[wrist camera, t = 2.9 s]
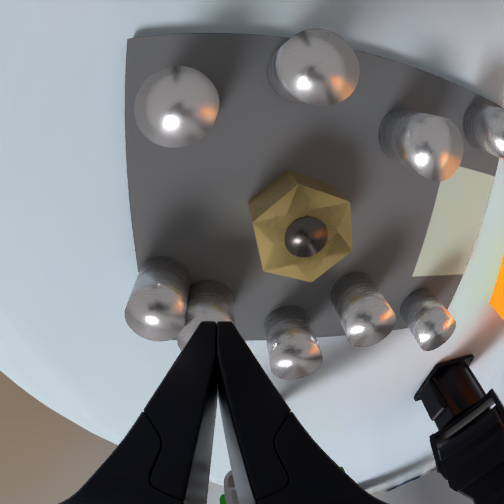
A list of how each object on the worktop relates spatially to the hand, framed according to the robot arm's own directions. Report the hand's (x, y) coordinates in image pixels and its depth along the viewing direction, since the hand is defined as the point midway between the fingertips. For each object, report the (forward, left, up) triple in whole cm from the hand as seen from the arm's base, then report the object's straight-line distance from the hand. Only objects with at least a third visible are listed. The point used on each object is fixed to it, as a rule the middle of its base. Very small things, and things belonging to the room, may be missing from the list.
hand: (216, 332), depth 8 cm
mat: (-7, 0, -9) cm, 11 cm away
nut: (-4, 0, -8) cm, 9 cm away
